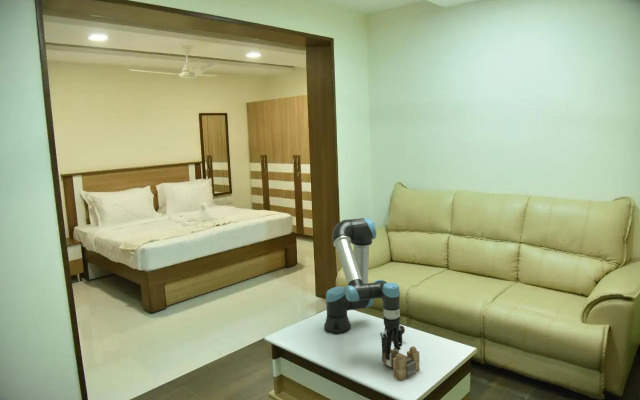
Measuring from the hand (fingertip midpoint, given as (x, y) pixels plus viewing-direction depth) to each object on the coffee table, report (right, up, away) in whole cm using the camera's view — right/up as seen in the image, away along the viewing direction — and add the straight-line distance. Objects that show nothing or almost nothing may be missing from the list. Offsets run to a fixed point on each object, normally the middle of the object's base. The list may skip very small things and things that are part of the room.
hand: (392, 363), depth 208 cm
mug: (+6, +2, +28) cm, 29 cm away
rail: (+1, -1, -2) cm, 2 cm away
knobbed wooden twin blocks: (+5, -2, -6) cm, 9 cm away
